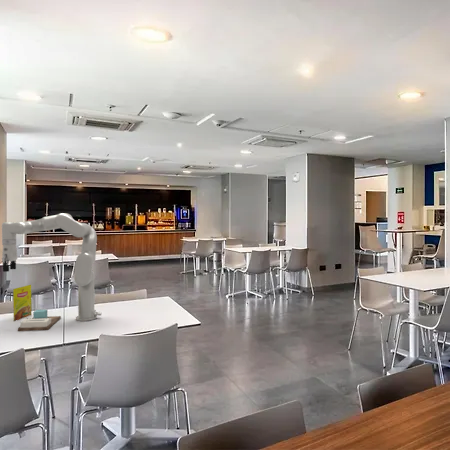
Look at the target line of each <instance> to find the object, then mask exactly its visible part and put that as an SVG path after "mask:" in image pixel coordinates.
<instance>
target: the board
mask: <svg viewBox="0 0 450 450" xmlns="http://www.w3.org/2000/svg"><path fill="white" fill-rule="evenodd" d="M47 318H51V324H49V325H48V326H47V327H31V328H20V326H19V327H18V328H17V332H26V331H28V332H31V331H32V332H34V331H49V330H50V329H51V328H52V327H53V326H54V325H56V324H57V323H58V322H59V321H60V320H61V319H62V316H61V315H59V316H58V315H55V316H54V315H53V316H47Z"/></svg>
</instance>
